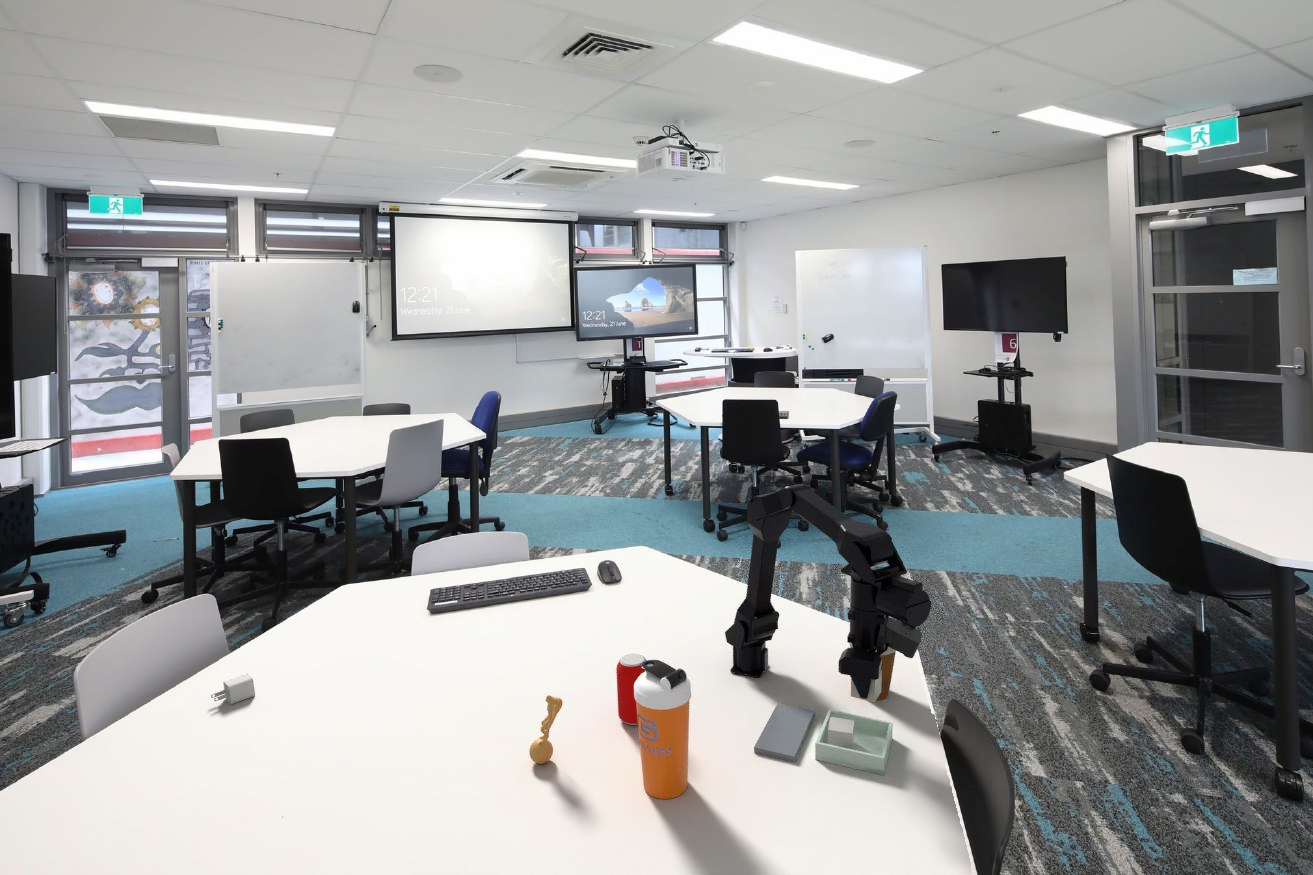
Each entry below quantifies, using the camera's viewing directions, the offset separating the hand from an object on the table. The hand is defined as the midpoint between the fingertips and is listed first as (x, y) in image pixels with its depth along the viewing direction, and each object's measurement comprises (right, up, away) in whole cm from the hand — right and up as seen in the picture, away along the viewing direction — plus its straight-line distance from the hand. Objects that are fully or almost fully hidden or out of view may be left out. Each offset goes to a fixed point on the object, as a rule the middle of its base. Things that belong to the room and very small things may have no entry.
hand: (866, 691), depth 120 cm
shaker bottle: (-34, -12, -7) cm, 37 cm away
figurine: (-54, -12, 0) cm, 55 cm away
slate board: (-13, -9, +5) cm, 17 cm away
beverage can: (-40, -10, +11) cm, 42 cm away
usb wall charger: (-121, -10, +23) cm, 124 cm away
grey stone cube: (0, 0, 0) cm, 0 cm away
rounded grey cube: (-4, -9, 0) cm, 10 cm away
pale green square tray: (-2, -10, 0) cm, 10 cm away
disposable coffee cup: (+7, -7, +18) cm, 21 cm away
